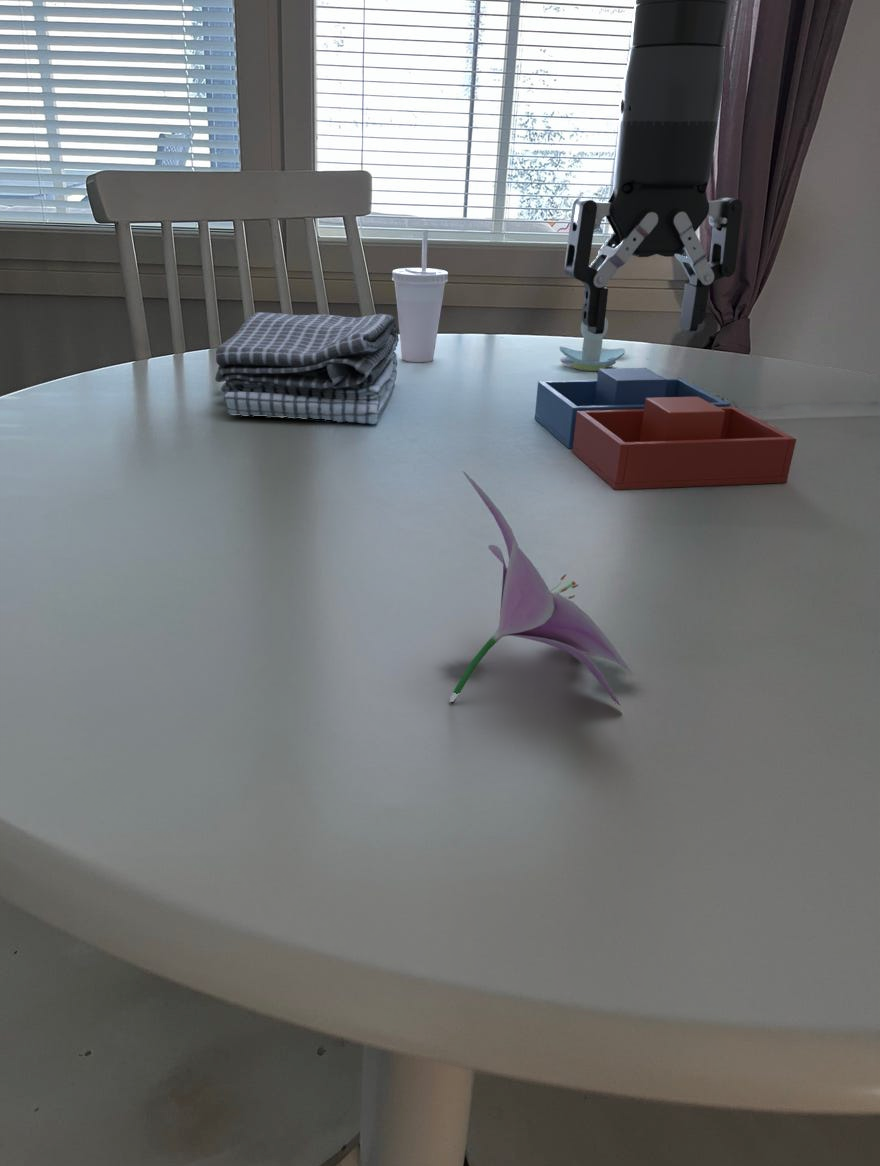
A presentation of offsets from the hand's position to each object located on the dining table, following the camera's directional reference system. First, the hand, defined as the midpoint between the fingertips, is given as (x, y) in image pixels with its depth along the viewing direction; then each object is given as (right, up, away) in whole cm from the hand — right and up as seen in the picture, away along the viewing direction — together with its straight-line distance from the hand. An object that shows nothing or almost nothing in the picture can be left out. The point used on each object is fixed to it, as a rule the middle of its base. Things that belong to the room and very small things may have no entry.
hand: (642, 331), depth 81 cm
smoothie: (-19, +6, +29) cm, 35 cm away
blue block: (-1, -7, +4) cm, 8 cm away
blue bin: (0, -8, +4) cm, 9 cm away
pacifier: (+1, +5, +27) cm, 28 cm away
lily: (-15, -29, -36) cm, 49 cm away
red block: (+1, -12, -5) cm, 13 cm away
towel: (-29, -3, +11) cm, 32 cm away
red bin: (+1, -13, -5) cm, 14 cm away
